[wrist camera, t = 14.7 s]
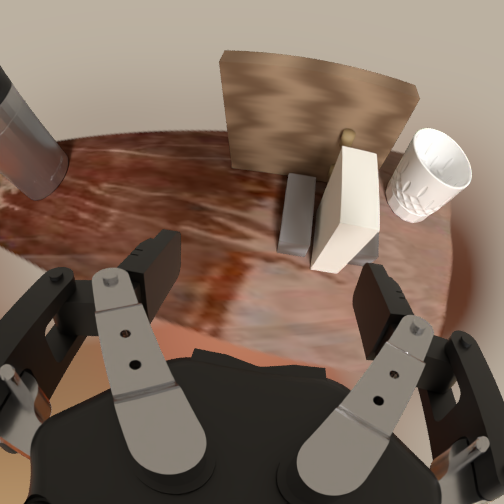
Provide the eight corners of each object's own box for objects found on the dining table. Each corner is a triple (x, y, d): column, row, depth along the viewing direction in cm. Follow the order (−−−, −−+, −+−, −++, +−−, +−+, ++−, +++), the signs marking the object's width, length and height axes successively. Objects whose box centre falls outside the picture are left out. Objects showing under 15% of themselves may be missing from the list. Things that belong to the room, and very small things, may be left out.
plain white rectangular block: (310, 269, 31) (340, 222, 19) (316, 211, 33) (342, 145, 21) (337, 273, 30) (379, 230, 19) (341, 215, 33) (376, 153, 21)
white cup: (426, 237, 32) (471, 201, 22) (374, 210, 33) (409, 163, 23) (434, 191, 34) (471, 150, 24) (387, 165, 35) (416, 117, 26)
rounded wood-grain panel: (214, 242, 32) (180, 151, 16) (235, 155, 35) (224, 50, 20) (366, 266, 31) (445, 198, 15) (366, 177, 34) (416, 85, 19)
